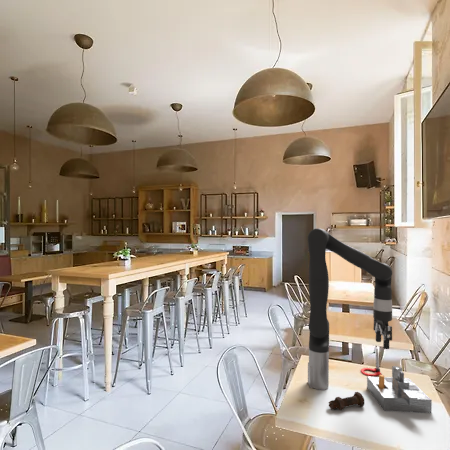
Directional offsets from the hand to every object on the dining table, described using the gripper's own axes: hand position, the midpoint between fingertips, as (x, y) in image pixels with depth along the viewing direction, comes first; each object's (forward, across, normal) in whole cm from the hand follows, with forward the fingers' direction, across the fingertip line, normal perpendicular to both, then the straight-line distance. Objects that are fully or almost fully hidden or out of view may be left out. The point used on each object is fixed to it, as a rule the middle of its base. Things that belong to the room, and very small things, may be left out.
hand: (382, 345), depth 144 cm
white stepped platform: (+24, -2, -7) cm, 25 cm away
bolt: (+24, -8, +18) cm, 31 cm away
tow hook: (+24, +26, -5) cm, 36 cm away
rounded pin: (+24, 0, 0) cm, 24 cm away
